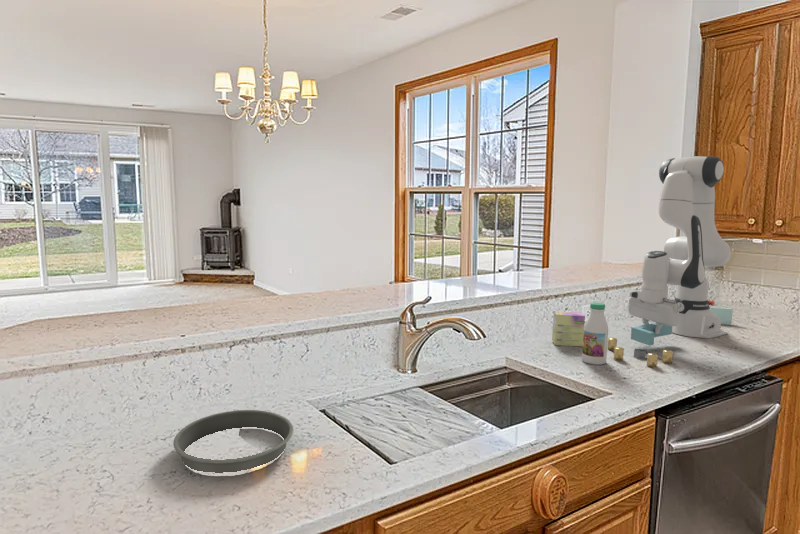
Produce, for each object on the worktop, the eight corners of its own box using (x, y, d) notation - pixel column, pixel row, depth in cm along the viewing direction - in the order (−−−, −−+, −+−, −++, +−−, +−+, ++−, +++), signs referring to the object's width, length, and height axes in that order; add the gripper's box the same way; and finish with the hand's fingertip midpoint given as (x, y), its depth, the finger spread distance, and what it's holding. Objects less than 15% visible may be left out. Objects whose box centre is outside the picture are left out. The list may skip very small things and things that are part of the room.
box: (579, 342, 200) (581, 312, 199) (583, 346, 195) (585, 315, 193) (551, 341, 201) (553, 311, 200) (554, 345, 196) (556, 314, 194)
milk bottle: (588, 356, 183) (592, 300, 180) (610, 361, 178) (614, 303, 175) (577, 361, 178) (581, 303, 175) (599, 367, 172) (604, 307, 169)
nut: (637, 354, 186) (638, 347, 186) (648, 357, 183) (648, 350, 182) (631, 356, 185) (631, 349, 184) (641, 359, 181) (642, 352, 181)
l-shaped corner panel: (731, 326, 230) (732, 309, 229) (699, 322, 235) (701, 306, 234) (727, 320, 241) (729, 304, 240) (697, 317, 246) (699, 301, 245)
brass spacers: (626, 346, 196) (627, 335, 196) (676, 364, 176) (678, 352, 175) (591, 350, 190) (592, 339, 190) (638, 369, 170) (639, 357, 169)
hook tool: (666, 332, 201) (667, 320, 200) (686, 338, 193) (686, 326, 192) (630, 339, 194) (631, 327, 193) (649, 345, 186) (650, 333, 186)
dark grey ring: (285, 480, 104) (285, 459, 103) (156, 485, 102) (154, 463, 101) (299, 425, 128) (299, 407, 127) (194, 427, 126) (194, 409, 125)
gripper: (685, 300, 186) (682, 338, 188) (638, 289, 204) (636, 324, 206) (671, 302, 183) (669, 340, 185) (626, 291, 202) (624, 326, 204)
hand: (651, 332), depth 196 cm, fingers closed on hook tool, 2 cm apart
